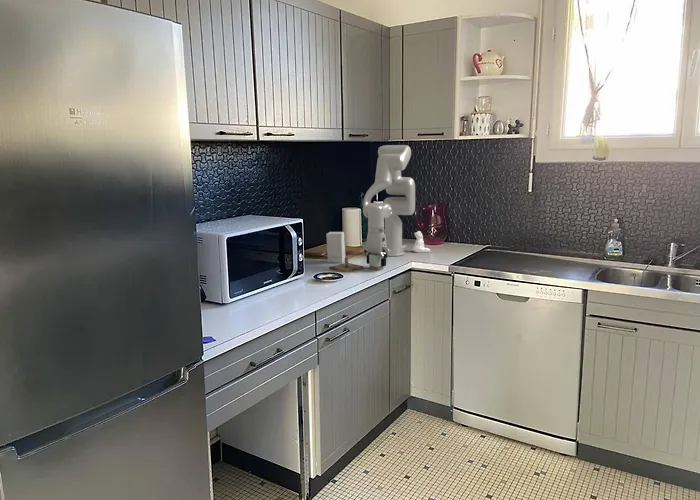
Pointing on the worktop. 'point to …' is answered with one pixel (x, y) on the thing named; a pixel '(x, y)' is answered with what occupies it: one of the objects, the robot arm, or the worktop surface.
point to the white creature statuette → (420, 244)
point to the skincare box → (335, 247)
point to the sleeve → (375, 261)
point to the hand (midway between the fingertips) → (376, 264)
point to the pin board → (346, 266)
